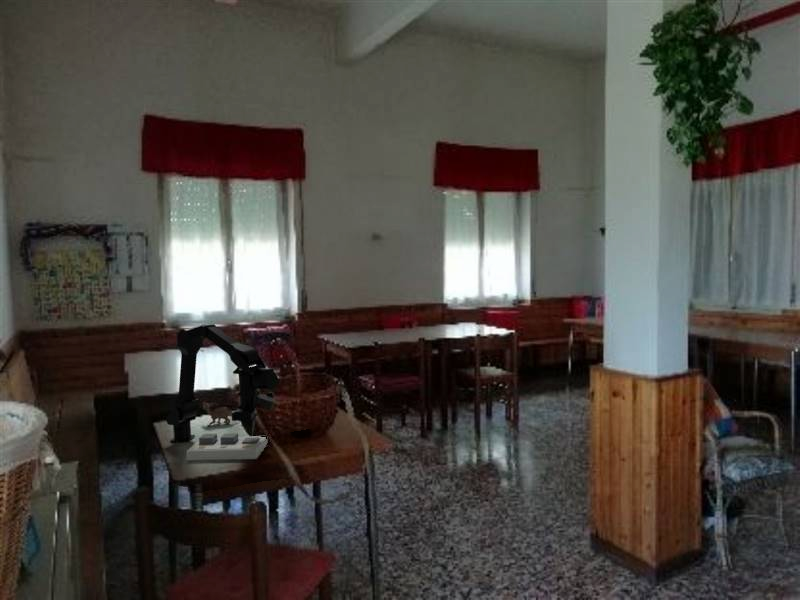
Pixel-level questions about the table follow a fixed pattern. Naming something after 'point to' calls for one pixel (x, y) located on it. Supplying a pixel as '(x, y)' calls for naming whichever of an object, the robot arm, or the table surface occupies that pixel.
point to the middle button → (229, 438)
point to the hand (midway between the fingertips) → (250, 434)
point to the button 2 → (250, 440)
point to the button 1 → (208, 439)
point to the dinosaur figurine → (217, 412)
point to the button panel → (227, 450)
